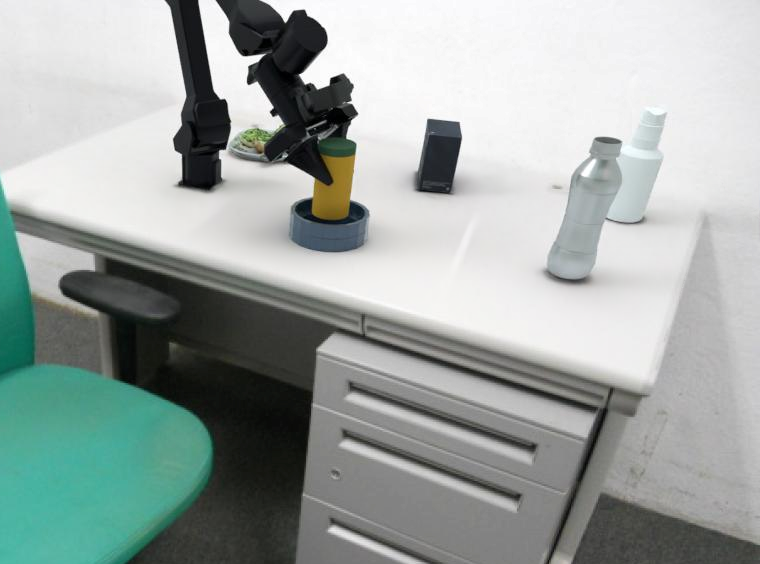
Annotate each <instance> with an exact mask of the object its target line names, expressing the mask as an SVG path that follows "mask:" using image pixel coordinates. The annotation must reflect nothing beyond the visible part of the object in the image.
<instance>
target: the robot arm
mask: <svg viewBox="0 0 760 564" xmlns="http://www.w3.org/2000/svg"><path fill="white" fill-rule="evenodd" d="M199 1H200V0H164V2H165V3H166V4H167V6H168V7H169V10H170V14H171V19H172V25H173V31H174V35H175V42H176V46H177V52H178V58H179V64H180V69H181V75H182V79H183V85H184V90H185V100H184V103H183V106H182V109H181V111H180V121H181V126H180V127H179V129H178V130H177V132H176V133H175V135H174V137H173V138H172V143H173V148H174V151H175V152H176V153H178V154H180V155H181V180H180V181H178V182H177V185H178V186H179V187H186V188H190V189H191V188H192V189H196V190H203V191H211V190H212V189H214V188H215V187H216V186H217V185H218V184H220V183H221V182H222V181H223V177H222V158H220V151H227V147H228V145H229V140H230V136H231V131H232V124H231V123H232V120H231V116H230V112H229V104H228V101H227V99H226V98H220V96H219V95H218V94H217V93H216V91H215V89H214V83H213V78H212V72H211V67H210V61H209V54H208V50H207V49H208V48H207V44H206V37H205V31H204V26H203V19H202V14H201V9H200V2H199ZM215 2H216V3H217V5H218V7H219V8H220V9H221V10H222V12H223V13H224V14H225V17H226V18H227V20H228V35H229V37H230V39H231V41H232V43H233V45H234V47H235V50H236V51H237V52H238V54H239V55H240V56H241V57H245V58H246V57H256V56H262V57H261V58H260V59H259V60H258V61H256V62H254V63H252V64H249V65H248V66H247V76H246V84H247V86H251V85H253V84H255V83H258V85H259V86H260V88H261V90H262V91H263V93H264V94H265V95H264V96H266V98H267V99H268V101H269V102H270V104H271V106H272V107H273V108H272V109H270V110H269V113H270V115H271V117H272V118H276V117H279V118H280V120H281V122H282V124H284V125H285V127H282V128H281V129H280V130H279V131H278V132H277V133H276V134H275V135H274V136H273V137H272V138H271V139H269V140H268V141H267V142H266V143H265V144H264V155H265V156H266V158H267V159H268V161H269V162H268V163H269V164H270V165H271V164H273V163H276V162H275V161H278V160H280V159H281V158H282V153H284V152H285V151H286V150H287V151H286V153H287V155H288V156H287V157H286V158H285V159H284V160H283V161H282V162H283V163H284V164H289V165H291V166H293V167H294V168H296V169H298V170H300V171H302V172H304V173H305V174H307V175H309V176H311V177H312V178H314V180H315V179H317V180H319V181H320V182H322V183H323V184H325V185H327V186H330V185H331V184H333V183H334V181H333V179H332V176H331V174H330V172H329V170H328V168H327V166H326V164H325V163H324V161H323V159H322V157H321V155H320V153H319V151H318V138H319V139H320V140H321V139H324V138H333V137H336V138H345V139H348V137H347V135H348V131H349V127H351V126H352V121H353V120H354V119H356V118H357V117H358V116H359V112H358V111H357V109H356V108H355V105H354V103H350V102H352V101H353V99H352V93H353V90H354V88H355V85H354V83H353V82H351V80H350V78H348V76H347V75H346V74H345V72H343V73H339V74H337V75H334V76H331V77H330V78H329V83H328V84H329V85H326V86H324V87H320V88H317V86H316V85H315V84H314V83H312V82H308V83H305V82H304V80H303V79H302V77H301V74H304V73H305V72H306V71H307V70H308V69H309V67H310V66H311V65H312V64H313V63H314V62H315V60H316V59H317V58H318V57H319V56H320V55H321V54H322V53H323V51H324V50H325V49H326V47H327V46H328V43H329V39H328V38H329V36H328V33H327V30H326V28H325V27H324V26H323V25H322V24H321V23H320V22H319V21H318V20H317V19H315V18H313V17H311V16H309V15H308V13H307V11H306V9H304V8H303V9H294V10H292V12H290V15H289V17H288V18H287V20H286V21H285V20H284V18H283V17H282V15H281V14H280V13H279V12H278V11H277V10H276V9H275V8H274V7H273V6H272V5H271V4H269V3H267V2H265V1H263V0H215ZM278 162H279V161H278ZM354 173H355V171H354V172H353V174H354Z"/></svg>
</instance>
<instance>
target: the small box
mask: <svg viewBox="0 0 760 564" xmlns="http://www.w3.org/2000/svg"><path fill="white" fill-rule="evenodd" d="M462 142H463V134H462V128H461V122H460V121H454V120H444V119H438V118H437V119H436V118H427V119H426V125H425V132H424V137H423V143H422V148H421V152H420V153H421V154H420V160H419V164H418V168H417V181H416V182H417V191H426V192H427V191H428V192H437V193H448V194H451V192H452V189H453V184H454V181H455V175H456V172H457V171H456V170H457V165H458V161H459V156H460V151H461V147H462Z"/></svg>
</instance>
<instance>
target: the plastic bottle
mask: <svg viewBox="0 0 760 564" xmlns="http://www.w3.org/2000/svg"><path fill="white" fill-rule="evenodd" d="M622 146H623V140H621V139H620V138H616V137H611V136H595V137H594V138H593V140H592V143H591V147H590V148H589V149H588V153H589V154H590V155H589V156H588V157H587V158H586V159H585V160H583V161H582V162H581V163H580V164H579V165H578V166H577V167H576V168H575V170H574V171H573V173H572V175H571V178H570V184H569V188H568V189H569V191H568V197H567V203H566V208H565V211H564V212H565V213H564V216H563V220H562V222H561V225H560V226H559V227H560V228H559V230H558V233H557V235H556V238H555V240H554V241H553V243H552V245H551V247H550V249H549V251H548V253H547V257H546V266H547V270H548V272H550V274H552V275H553V276H556V277H559V278H561V279H565V280H581V279H584V278H586V277H587V276H588V275H590V274H591V272H592V271H593V269H594V267H595V265H596V262H597V257H598V247H599V243H600V238H601V234H602V231H603V230H602V229H603V227H604V225H605V221H606V219H607V218H606V217H607V214H608V211H609V209H610V207H611V205H612V203H613V201H614V199H615V197H616V195H617V193H618V190H619V189H620V186H621V184H622V173H621V170H620V167H619V165H618V163H617V158H618V157H619V156H620V153H621V152H620V150H621V148H623V147H622Z"/></svg>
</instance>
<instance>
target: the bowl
mask: <svg viewBox="0 0 760 564" xmlns="http://www.w3.org/2000/svg"><path fill="white" fill-rule="evenodd" d="M312 203H313V196H311V197H305V198H301V199H299V200H298V201H295V202H294V203H293V204H292V205H291V206H290V214H289V215H290V216H289V228H288V229H289V230H288V237H289V238H290V240H291V241H292V242H294V243H295V244H297V245H299V246H300V247H303V248H305V249H309V250H312V251H318V252H330V253H335V252H337V253H338V252H347V251H351V250H355V249H358V248H360V247H362V246H363V245H364V244H365V243H366V241H367V240H368V239H367V238H368V231H369V224H370V217H371V215H370V210H369V209H368V208H367V206H366V205H364V204H363V203H360V202H358V201H356V200H352V199H350V205H349V213H348V216H347V217H346V218H343V219H339V220H326V219H321V218H318V217H316V216H314V215H313V214H312Z"/></svg>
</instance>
